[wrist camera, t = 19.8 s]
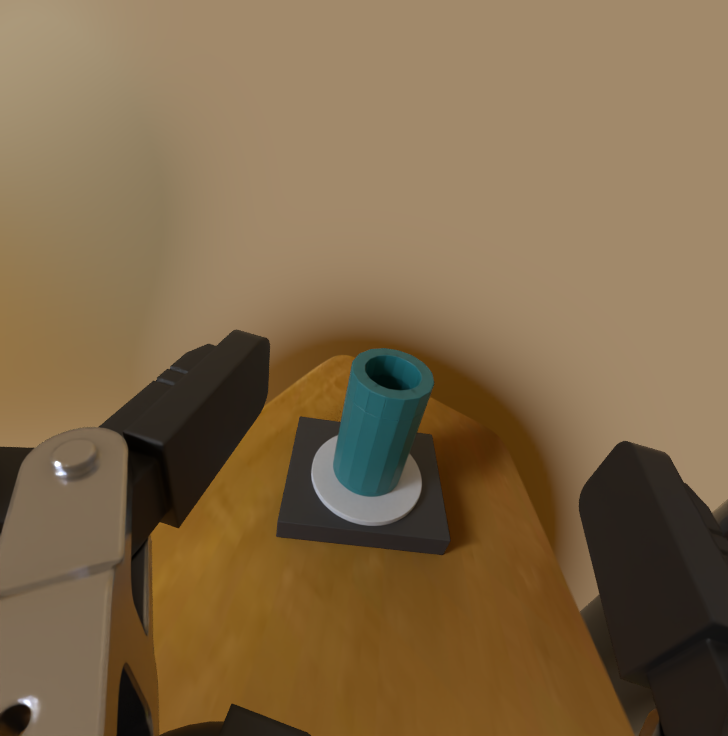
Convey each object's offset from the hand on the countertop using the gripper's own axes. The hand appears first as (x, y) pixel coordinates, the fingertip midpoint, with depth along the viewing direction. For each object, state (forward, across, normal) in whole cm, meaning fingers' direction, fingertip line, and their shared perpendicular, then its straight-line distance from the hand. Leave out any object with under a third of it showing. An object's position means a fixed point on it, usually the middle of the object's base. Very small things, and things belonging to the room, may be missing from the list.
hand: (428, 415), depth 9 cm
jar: (+17, -2, -22) cm, 28 cm away
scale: (+17, -1, -25) cm, 30 cm away
